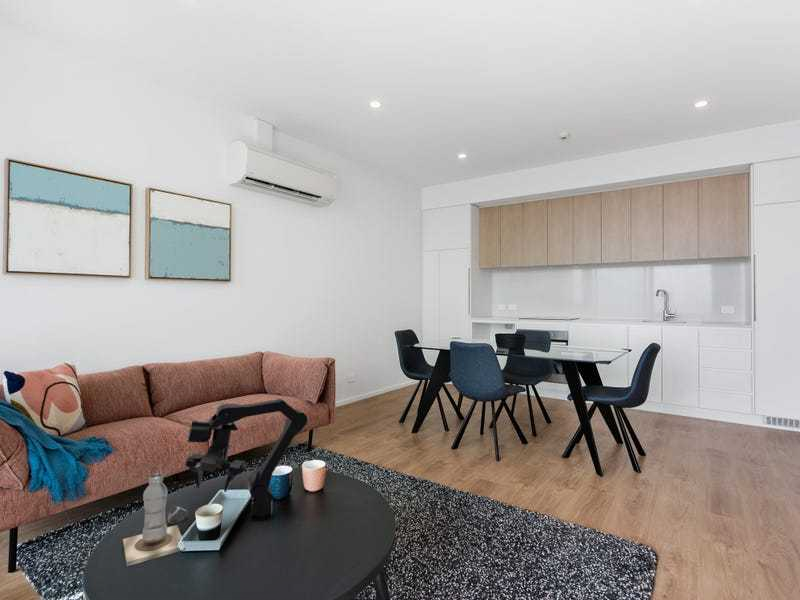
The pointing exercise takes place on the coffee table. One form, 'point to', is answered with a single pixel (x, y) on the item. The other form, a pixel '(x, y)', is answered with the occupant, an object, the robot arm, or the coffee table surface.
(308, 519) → the coffee table surface
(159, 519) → the plastic bottle
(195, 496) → the coffee table surface
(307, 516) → the coffee table surface
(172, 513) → the wristwatch
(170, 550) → the ash board
